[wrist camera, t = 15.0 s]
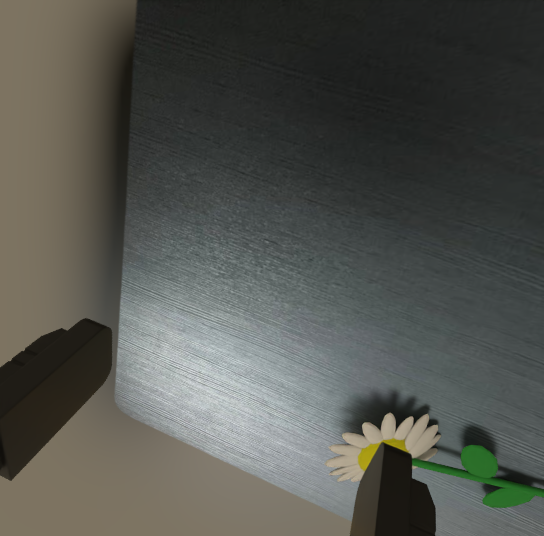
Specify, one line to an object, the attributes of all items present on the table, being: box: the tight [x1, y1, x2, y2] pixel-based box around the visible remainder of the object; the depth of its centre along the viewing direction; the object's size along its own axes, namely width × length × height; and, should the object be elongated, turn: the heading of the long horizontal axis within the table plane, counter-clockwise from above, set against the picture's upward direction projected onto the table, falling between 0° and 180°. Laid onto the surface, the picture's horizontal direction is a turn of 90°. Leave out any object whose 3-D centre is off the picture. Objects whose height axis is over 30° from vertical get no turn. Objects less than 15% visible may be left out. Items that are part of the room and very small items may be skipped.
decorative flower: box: [325, 413, 544, 508], centre depth 44 cm, size 13×5×30 cm
